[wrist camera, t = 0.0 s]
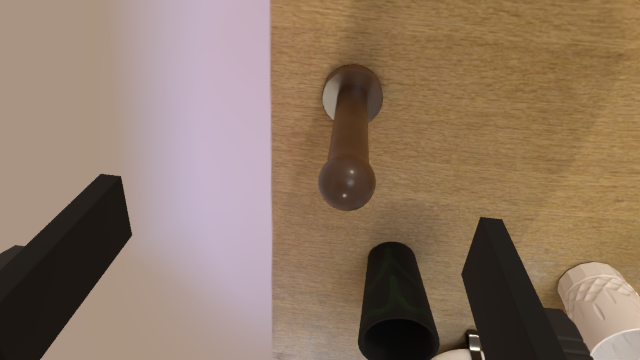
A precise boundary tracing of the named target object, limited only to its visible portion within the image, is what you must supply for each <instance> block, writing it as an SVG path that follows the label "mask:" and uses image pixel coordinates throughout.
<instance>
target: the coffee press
mask: <svg viewBox="0 0 640 360" xmlns="http://www.w3.org/2000/svg"><path fill="white" fill-rule="evenodd" d="M431 360H485V357H484V354H483V351H481V350H480V339H479V336H478V332H477V331H471V330H467V331H466V344H465V349H457V350H451V351H448V352H444V353H442V354H439V355H437V356H436V357H434V358H432V359H431Z"/></svg>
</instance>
